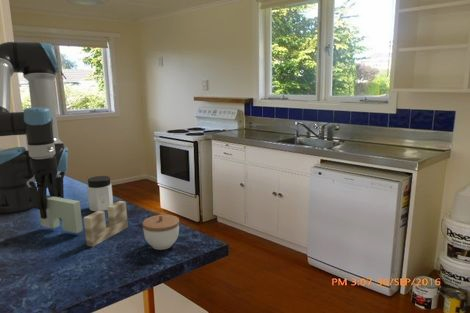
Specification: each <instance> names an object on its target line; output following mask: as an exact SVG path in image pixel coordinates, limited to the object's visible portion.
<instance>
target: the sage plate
mask: <svg viewBox="0 0 470 313" xmlns="http://www.w3.org/2000/svg"><path fill="white" fill-rule="evenodd" d="M59 197H60V196H59ZM59 197H53V196H50V195H49V194H48V195H47V208H49V211H50V219H51V226H52V227H50V228H51V229H56V228H57V227H60V225H61V226H62V231H63V232H69V233H73V234H78V233H80V232H83V230H84V226H83V220H82V212H81V211H82V209H81V201H80V200H75V199H70V198H65V197H64V198H59ZM38 216H39V217H38V218H39V222H40V226H42V227H44V225H43V219H42V218H41V215H40V210H39V209H38ZM60 219H61V222H60ZM50 228H49V229H50Z"/></svg>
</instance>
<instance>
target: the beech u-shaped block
mask: <svg viewBox="0 0 470 313" xmlns="http://www.w3.org/2000/svg"><path fill="white" fill-rule="evenodd" d="M107 209H108V210H107V216H108V218H107V219H108V220H107V221H108V224H107V223H106V222H107V221H106V214H105V213H106V212H105V211H97V212H96V211H93V213H91V214H88V215H86V216H84V217H83V224H84V226H83V227H84V234H85V243H86V246H88V247H92V248H94V247H95V246H97V245H98V244H100V243H102V242H104V241H106V240H108V239H109V238H111V237H113V236H114V235H115V236H116V234H118V233H120V232H121V231H123V230H125V229H127V228H128V227H129V225H128V210H127V202H126V201H125V200H124V201H123V200H118V201H116V202H113V204H112V205H110V206H108V207H107Z"/></svg>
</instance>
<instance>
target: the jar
mask: <svg viewBox="0 0 470 313" xmlns="http://www.w3.org/2000/svg"><path fill="white" fill-rule="evenodd" d="M87 198H88V205H89V207H88V208H89V210H90V211H92V212H97V211H103V212H105V211H108V209H107V207H108V206H110V205H112V204H114V198H113V186H112V183H111V177H110V176H108V175H98V176H96V175H95V176H91V177H89V178H88V179H87Z"/></svg>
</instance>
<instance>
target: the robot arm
mask: <svg viewBox="0 0 470 313" xmlns="http://www.w3.org/2000/svg"><path fill="white" fill-rule="evenodd" d="M59 72H60V70H59V65H58V60H57V57H56V53H55V49H54V46H53V44H51V43H49V42H40V41H38V42H32V41H31V42H27V41H26V42H21V41H20V42H19V41H18V42H17V41H7V42H2V43H0V137H10V136H22V135H23V136H24V135H25V136H26V141H27V149H26V147H25V146H16V147H10V148H6V149H1V150H0V214H9V213H10V214H11V213H17V212H22V211H25V210H26V211H27V210H29V209H32V208H33V209H35V210H38V211H39V210H40V215H41V218H42V219H43V225H44V226H43V228H49V229H50V227H52V226H51V219H50V211H49V208H47V190H48V196H53V197H59V198H65V196H64V179H65V178H64V177H65V175H66V174H68V159H69V158H68V156H69V155H68V154H69V153H68V152H69V147H67V146H65V145H64V141H62V140H61V139H60V138H59V128H58V118H57V112H56V103H55V102H56V101H55V94H54V86H53V84H54V83H53V80H55V79H56V77H57V75H56V74H58V73H59ZM15 73H18V74H19V73H20V74H21V73H22V75H23V76H22V77H23V78H24V79H25V80H27V82H28V90H29V97H30V98H29V99H30V106H31V107H28V108H25V109H23V111H15V112H14V111H13V112H11V78H12V76H13V75H14V74H15Z"/></svg>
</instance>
